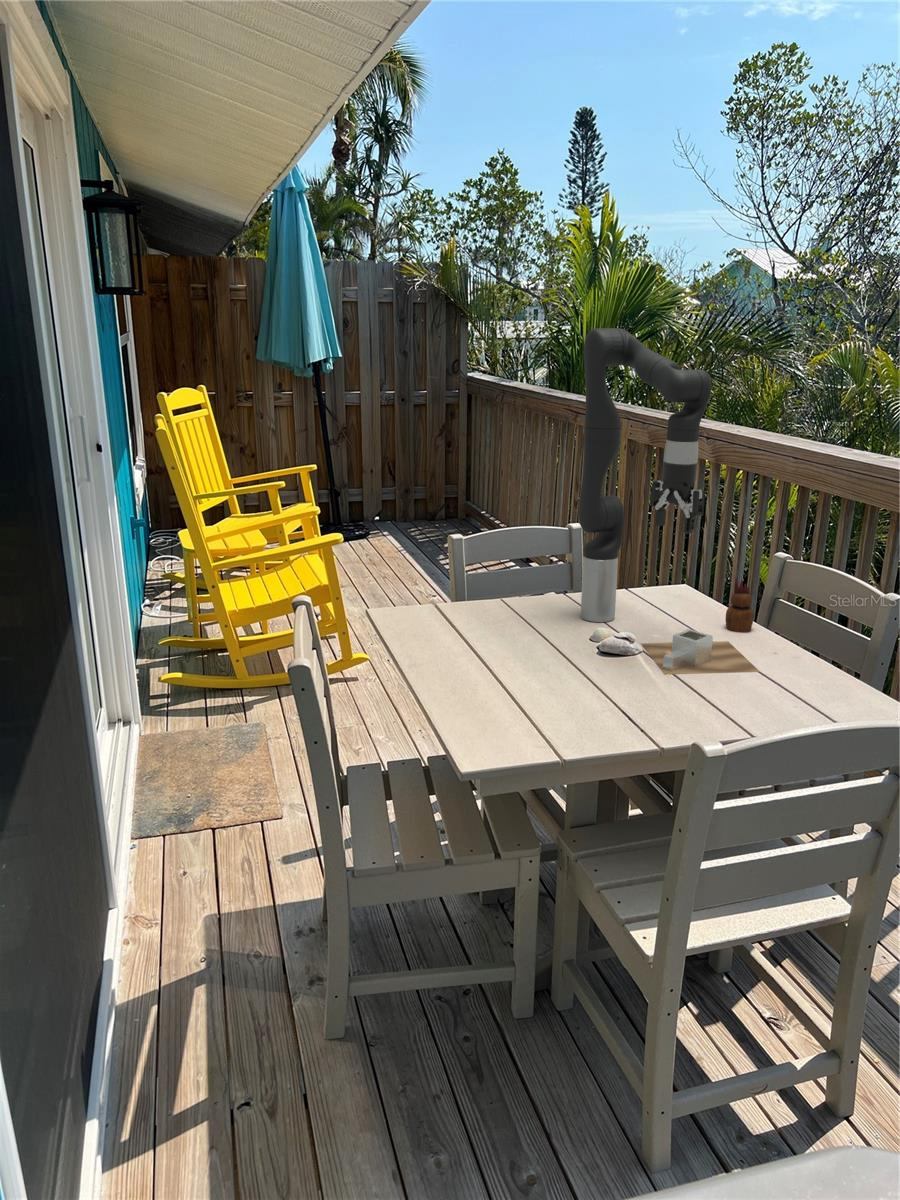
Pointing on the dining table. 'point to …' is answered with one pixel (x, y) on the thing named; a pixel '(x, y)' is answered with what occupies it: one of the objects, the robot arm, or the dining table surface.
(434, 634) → the dining table surface
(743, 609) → the wooden figurine
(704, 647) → the square container with handle
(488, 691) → the dining table surface
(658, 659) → the board
